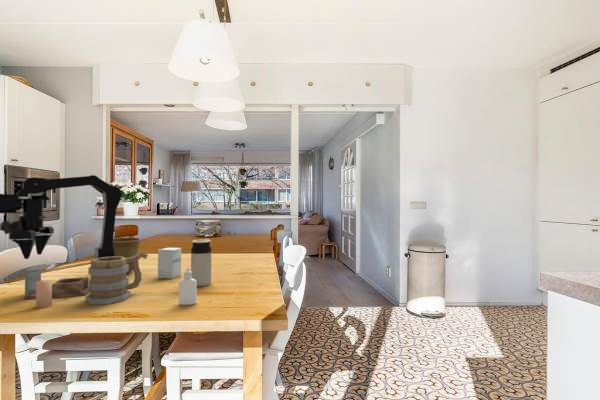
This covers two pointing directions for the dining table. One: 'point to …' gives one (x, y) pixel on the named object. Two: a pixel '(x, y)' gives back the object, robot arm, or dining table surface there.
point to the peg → (43, 293)
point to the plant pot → (126, 248)
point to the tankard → (112, 278)
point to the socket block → (54, 284)
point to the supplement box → (169, 262)
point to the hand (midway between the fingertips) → (33, 256)
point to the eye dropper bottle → (187, 289)
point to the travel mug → (201, 262)
